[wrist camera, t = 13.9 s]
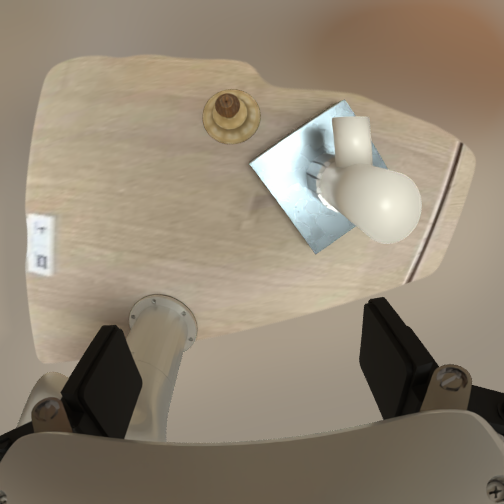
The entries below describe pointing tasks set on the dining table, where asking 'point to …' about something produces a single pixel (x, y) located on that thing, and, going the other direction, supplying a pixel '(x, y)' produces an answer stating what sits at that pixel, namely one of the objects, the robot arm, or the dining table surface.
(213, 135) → the hand bell
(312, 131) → the vent box
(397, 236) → the white tall branched piece
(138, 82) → the dining table surface
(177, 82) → the dining table surface
